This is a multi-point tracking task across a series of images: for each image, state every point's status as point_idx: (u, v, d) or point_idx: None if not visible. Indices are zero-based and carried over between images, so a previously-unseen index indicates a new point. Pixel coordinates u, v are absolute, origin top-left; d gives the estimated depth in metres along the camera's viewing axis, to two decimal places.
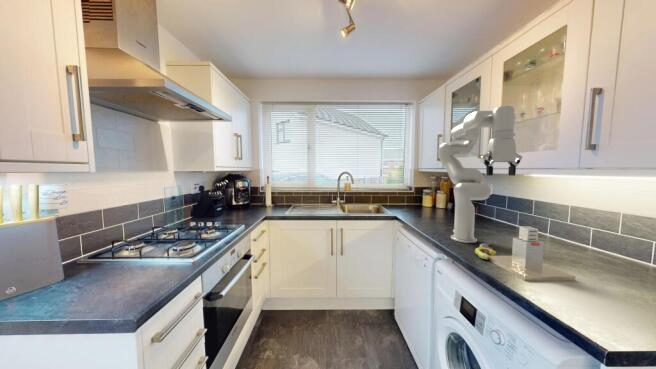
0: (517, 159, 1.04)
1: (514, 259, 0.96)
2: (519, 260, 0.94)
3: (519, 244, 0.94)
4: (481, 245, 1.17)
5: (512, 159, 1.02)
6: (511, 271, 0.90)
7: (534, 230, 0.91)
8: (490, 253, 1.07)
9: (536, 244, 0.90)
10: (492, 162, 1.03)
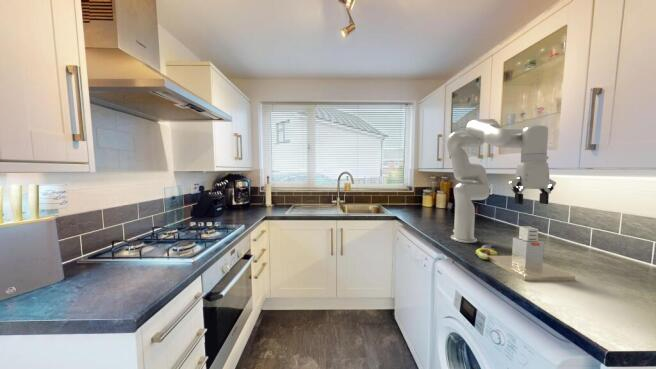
0: (550, 185, 0.92)
1: (514, 259, 0.96)
2: (519, 260, 0.94)
3: (519, 244, 0.94)
4: (483, 246, 1.16)
5: (545, 186, 0.90)
6: (511, 271, 0.90)
7: (534, 230, 0.91)
8: (491, 253, 1.07)
9: (536, 244, 0.90)
10: (522, 189, 0.91)
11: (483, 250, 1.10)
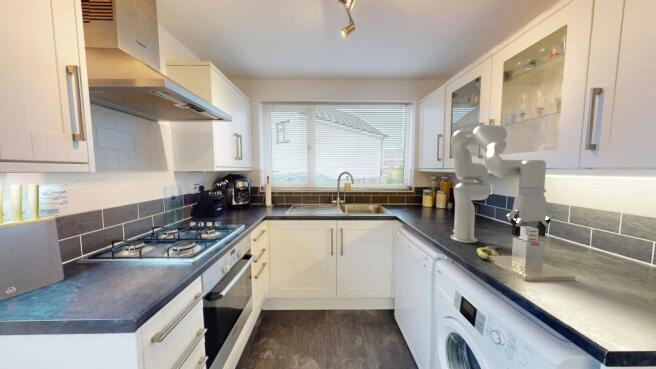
0: (547, 218, 0.93)
1: (514, 259, 0.96)
2: (519, 260, 0.94)
3: (519, 244, 0.94)
4: (487, 247, 1.16)
5: (542, 219, 0.91)
6: (511, 271, 0.90)
7: (534, 230, 0.91)
8: (492, 254, 1.06)
9: (536, 244, 0.90)
10: (519, 222, 0.92)
11: (485, 250, 1.10)
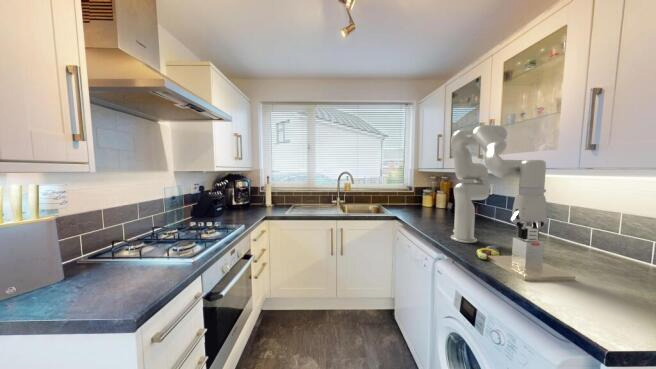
0: None
1: (514, 259, 0.96)
2: (519, 260, 0.94)
3: (519, 244, 0.94)
4: (488, 247, 1.15)
5: (542, 219, 0.91)
6: (511, 271, 0.90)
7: (534, 230, 0.91)
8: (492, 254, 1.06)
9: (536, 244, 0.90)
10: (524, 224, 0.92)
11: (485, 250, 1.10)
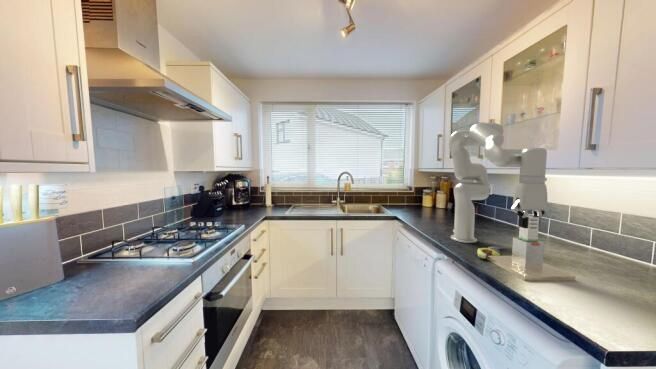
0: None
1: (514, 259, 0.96)
2: (519, 260, 0.94)
3: (519, 244, 0.94)
4: (490, 247, 1.14)
5: (543, 207, 0.91)
6: (511, 271, 0.90)
7: (535, 219, 0.91)
8: (492, 254, 1.06)
9: (536, 244, 0.90)
10: (525, 213, 0.91)
11: (486, 250, 1.09)
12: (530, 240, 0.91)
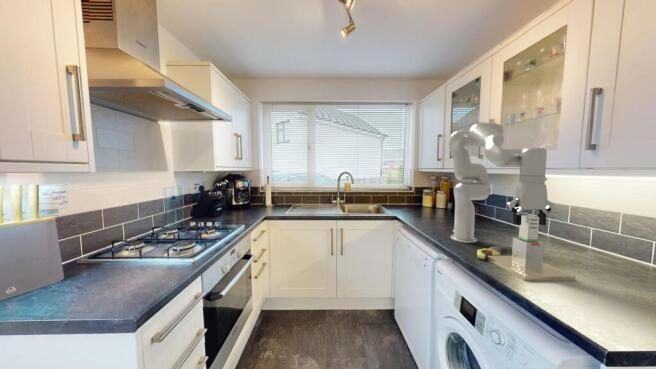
0: (548, 206, 0.92)
1: (514, 259, 0.96)
2: (519, 260, 0.94)
3: (519, 244, 0.94)
4: (492, 247, 1.14)
5: (543, 207, 0.91)
6: (511, 271, 0.90)
7: (535, 218, 0.91)
8: (492, 254, 1.06)
9: (536, 244, 0.90)
10: (520, 210, 0.91)
11: (486, 250, 1.09)
12: (530, 240, 0.91)
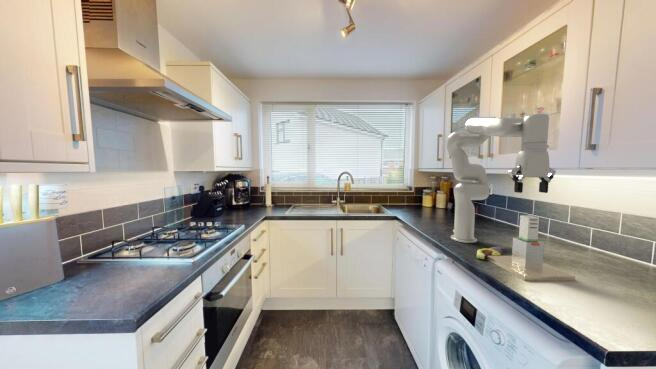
0: (550, 174, 0.92)
1: (514, 259, 0.96)
2: (519, 260, 0.94)
3: (519, 244, 0.94)
4: (493, 247, 1.14)
5: (545, 174, 0.90)
6: (511, 271, 0.90)
7: (535, 218, 0.91)
8: (492, 254, 1.05)
9: (536, 244, 0.90)
10: (522, 178, 0.91)
11: (486, 250, 1.09)
12: (530, 240, 0.91)
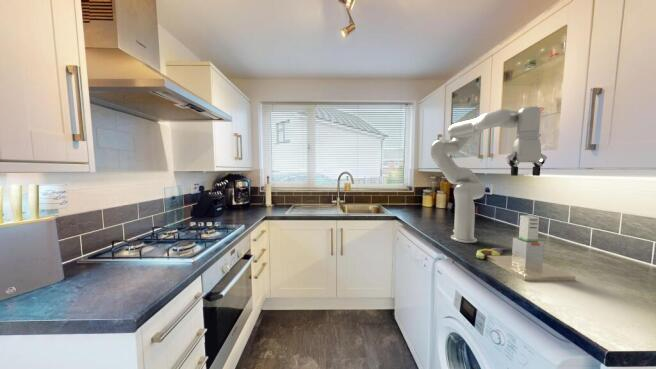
0: (541, 159, 1.05)
1: (514, 259, 0.96)
2: (519, 260, 0.94)
3: (519, 244, 0.94)
4: (493, 248, 1.14)
5: (537, 159, 1.03)
6: (511, 271, 0.90)
7: (535, 218, 0.91)
8: (492, 254, 1.06)
9: (536, 244, 0.90)
10: (517, 162, 1.04)
11: (486, 251, 1.10)
12: (530, 240, 0.91)
